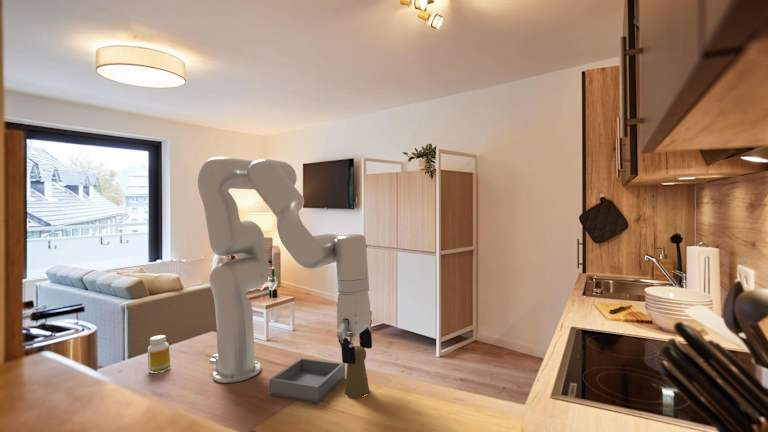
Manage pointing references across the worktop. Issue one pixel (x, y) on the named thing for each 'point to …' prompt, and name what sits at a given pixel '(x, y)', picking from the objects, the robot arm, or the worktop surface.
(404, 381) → the worktop surface
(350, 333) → the robot arm
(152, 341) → the supplement bottle
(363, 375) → the cork
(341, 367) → the box
